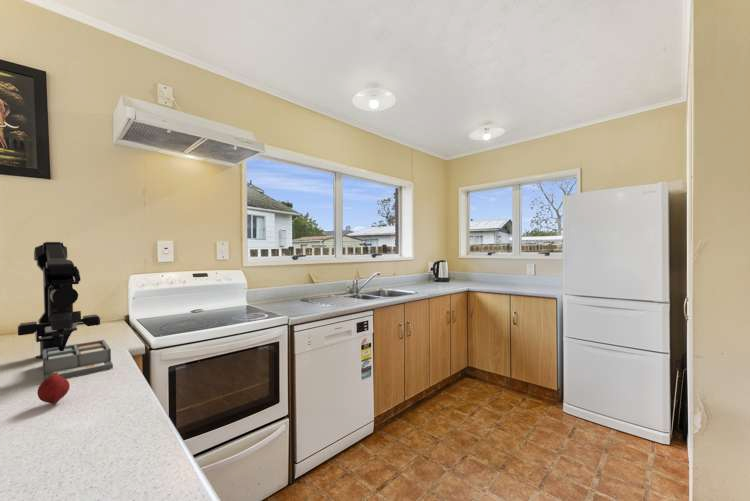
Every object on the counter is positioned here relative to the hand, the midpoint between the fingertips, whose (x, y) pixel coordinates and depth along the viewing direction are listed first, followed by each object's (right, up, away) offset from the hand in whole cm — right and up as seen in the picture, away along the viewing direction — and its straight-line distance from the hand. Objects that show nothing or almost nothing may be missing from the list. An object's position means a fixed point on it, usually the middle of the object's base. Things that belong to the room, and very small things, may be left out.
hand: (61, 351), depth 105 cm
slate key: (-5, -3, +5) cm, 8 cm away
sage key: (0, -3, 0) cm, 3 cm away
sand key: (+5, -3, +5) cm, 8 cm away
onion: (+18, -7, -21) cm, 29 cm away
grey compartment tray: (+1, -7, +4) cm, 8 cm away
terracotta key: (0, -3, +11) cm, 11 cm away
